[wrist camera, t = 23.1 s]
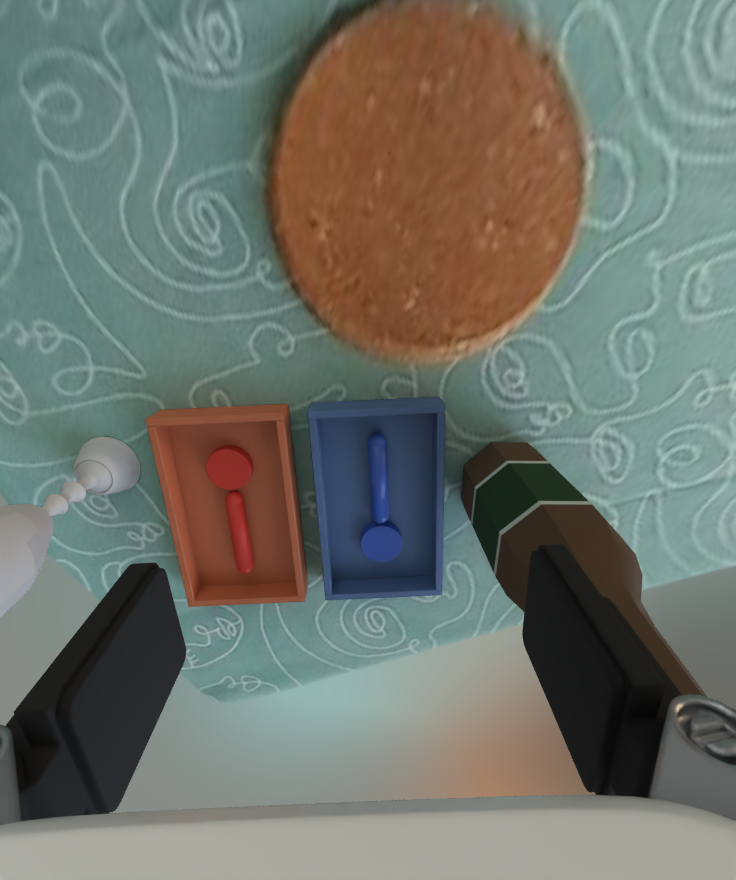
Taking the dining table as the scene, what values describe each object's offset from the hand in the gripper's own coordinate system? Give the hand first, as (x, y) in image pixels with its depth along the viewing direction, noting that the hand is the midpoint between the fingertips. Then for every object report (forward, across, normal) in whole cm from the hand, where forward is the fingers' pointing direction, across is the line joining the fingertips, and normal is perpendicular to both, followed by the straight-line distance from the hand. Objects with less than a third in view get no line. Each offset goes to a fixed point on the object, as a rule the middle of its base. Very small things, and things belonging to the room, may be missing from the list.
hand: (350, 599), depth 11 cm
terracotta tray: (+24, +11, +10) cm, 28 cm away
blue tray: (+24, -1, +10) cm, 26 cm away
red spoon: (+24, +11, +10) cm, 28 cm away
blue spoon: (+24, -1, +10) cm, 26 cm away
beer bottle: (+24, -12, +9) cm, 29 cm away
